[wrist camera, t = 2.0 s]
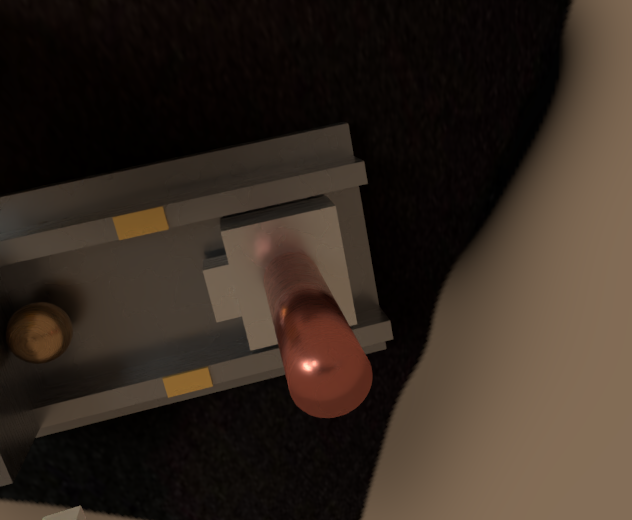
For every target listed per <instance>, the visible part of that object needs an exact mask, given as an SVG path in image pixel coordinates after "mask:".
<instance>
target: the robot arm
mask: <svg viewBox="0 0 632 520" xmlns="http://www.w3.org/2000/svg"><path fill="white" fill-rule="evenodd" d="M42 520H87V518H86V516H85V514H84V512H83V509H82V507H81V506H78V507H75V508H72V509H68V510H65V511H62V512H59V513H55V514H52V515H49V516H46V517H43V518H42Z"/></svg>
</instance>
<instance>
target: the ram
mask: <svg viewBox="0 0 632 520" xmlns="http://www.w3.org/2000/svg"><path fill="white" fill-rule="evenodd" d="M220 230H221V235H222V239H223V243H224V247H225V251H226V254H225V255H221V256H216V257H212V258H208V259H203V274H204V278H205V281H206V285H207V289H208V292H209V296H210V300H211V304H212V307H213V311H214V315H215V319H216V322H221V321H225V320H229V319H233V318H237V317H241V316H242V319H243V323H244V327H245V331H246V335H247V339H248V343H249V347H250V351H252V350H256V349H260V348H264V347H268V346H272V345H276V344H278V346H279V350H280V354H281V358H282V362H283V366H284V370H285V374H286V379H287V383H288V387H289V391H290V394H291V397H292V399H293V401H294V402H295V404H296V405H297V406H298V407H299V408H300V409H301V410H303V411H304V412H306V413H307V414H310V415H312V416H315V417H320V418H334V417H338V416H342V415H344V414H347V413H349V412H350V411H352V410H354V409H355V408H356V407H358V406H359V405H360V404H361V403H362V402H363V400H364V399H365V398H366V396H367V394H368V392H369V390H370V388H371V384H372V368H371V365H370V362H369V360H368V358H367V356H366V355H365V353H364V351H363V349H362V347H361V346H360V344H359V342H358V340H357V338H356V336H355V335H354V333H353V331H352V329H351V327H350V326H352V325H356V324H357V319H356V314H355V309H354V303H353V298H352V292H351V287H350V281H349V276H348V271H347V265H346V260H345V254H344V249H343V243H342V238H341V232H340V227H339V222H338V216H337V211H336V206H335V205H334V204H333V203H332V201H331V200H330V199H329V198H328V197H327V196H322V197H317V198H313V199H308V200H304V201H299V202H295V203H291V204H286V205H282V206H277V207H273V208H268V209H264V210H259V211H255V212H251V213H246V214H242V215H237V216H233V217H228V218H224V219H220Z"/></svg>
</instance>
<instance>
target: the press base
mask: <svg viewBox="0 0 632 520" xmlns="http://www.w3.org/2000/svg"><path fill="white" fill-rule="evenodd" d="M364 184H368V182H367V176H366V170H365V164H364V161H363V160H361V159H359V158H357V157H355V156H354V154H353V148H352V142H351V136H350V131H349V125H348V123H346V122H340V123H335V124H330V125H326V126H321V127H316V128H312V129H307V130H302V131H297V132H293V133H288V134H283V135H279V136H274V137H269V138H265V139H260V140H255V141H250V142H246V143H241V144H236V145H232V146H227V147H222V148H218V149H213V150H208V151H204V152H199V153H194V154H189V155H185V156H180V157H175V158H171V159H166V160H161V161H157V162H152V163H147V164H142V165H138V166H133V167H128V168H124V169H119V170H114V171H110V172H105V173H100V174H96V175H91V176H86V177H81V178H77V179H72V180H67V181H63V182H58V183H53V184H49V185H44V186H39V187H34V188H30V189H25V190H20V191H16V192H11V193H6V194H2V195H0V486H4V485H7V484H11V483H13V482H14V480H15V478H16V476H17V474H18V472H19V470H20V468H21V466H22V464H23V462H24V460H25V458H26V456H27V454H28V452H29V450H30V448H31V446H32V443H33V441H34V439H35V438H37V437H41V436H45V435H49V434H53V433H57V432H61V431H65V430H69V429H73V428H76V427H80V426H84V425H88V424H92V423H96V422H100V421H104V420H108V419H112V418H116V417H120V416H124V415H128V414H132V413H136V412H140V411H143V410H147V409H151V408H155V407H159V406H163V405H167V404H171V403H175V402H179V401H183V400H187V399H191V398H195V397H199V396H203V395H207V394H211V393H214V392H218V391H222V390H226V389H230V388H234V387H238V386H242V385H246V384H250V383H254V382H258V381H262V380H266V379H270V378H274V377H278V376H282V375H285V370H284V366H283V362H282V358H281V354H280V350H279V346H278V344H276V345H272V346H268V347H264V348H260V349H256V350H252V351H250V347H249V343H248V339H247V335H246V331H245V327H244V323H243V319H242V316H241V317H237V318H233V319H229V320H225V321H221V322H216V319H215V315H214V311H213V307H212V304H211V300H210V296H209V292H208V289H207V285H206V281H205V278H204V274H203V259H208V258H212V257H216V256H221V255H225V254H226V251H225V247H224V243H223V239H222V235H221V230H220V219H224V218H228V217H233V216H237V215H242V214H246V213H251V212H255V211H259V210H264V209H268V208H273V207H277V206H282V205H286V204H291V203H295V202H299V201H304V200H308V199H313V198H317V197H322V196H327V197H328V198H329V199H330V200H331V201H332V203H333V204H334V205H335V206H336V211H337V216H338V222H339V227H340V232H341V238H342V243H343V249H344V254H345V260H346V265H347V271H348V276H349V281H350V287H351V292H352V298H353V303H354V309H355V314H356V319H357V324H356V325H352V326H350V327H351V329H352V331H353V333H354V335H355V336H356V338H357V340H358V342H359V344H360V346H361V347H362V349H363V351H364V353H365V354H368V353H372V352H376V351H380V350H384V349H386V343H385V341H388V340H392V339H393V335H392V328H391V322H390V320H389V318H388V317H387V315H386V314H385V313H384V311H383V310H382V309H381V307H380V306H379V302H378V296H377V290H376V284H375V278H374V272H373V266H372V261H371V255H370V249H369V243H368V237H367V231H366V225H365V219H364V213H363V207H362V201H361V196H360V190H359V186H360V185H364Z"/></svg>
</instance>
